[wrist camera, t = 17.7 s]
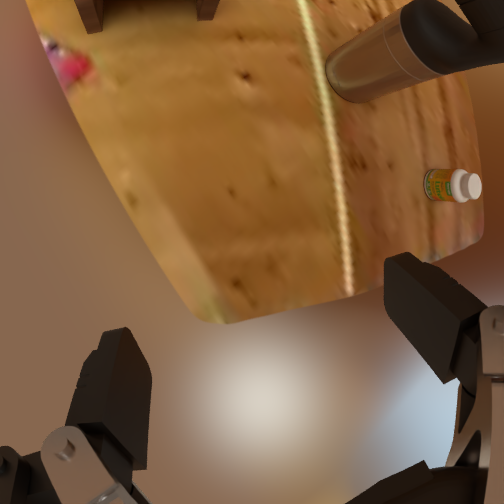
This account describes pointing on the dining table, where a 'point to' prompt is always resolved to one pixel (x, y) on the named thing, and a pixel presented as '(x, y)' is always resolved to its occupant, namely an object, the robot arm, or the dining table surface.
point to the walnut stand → (93, 4)
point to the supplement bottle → (452, 185)
